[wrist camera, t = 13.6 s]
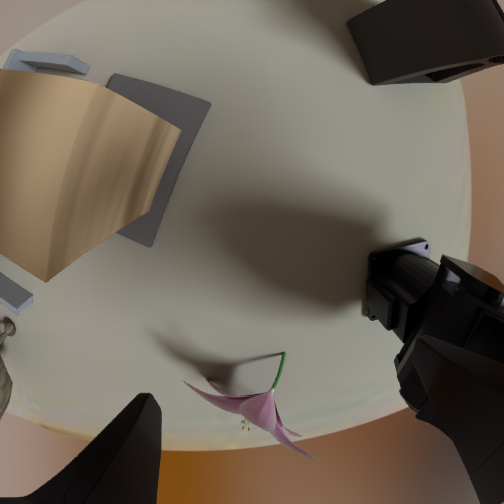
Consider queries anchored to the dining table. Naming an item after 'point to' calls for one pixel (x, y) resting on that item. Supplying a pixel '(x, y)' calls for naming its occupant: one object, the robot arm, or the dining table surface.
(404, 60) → the phone stand
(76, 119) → the oak block
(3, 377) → the tabletop clock
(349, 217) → the dining table surface
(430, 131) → the dining table surface
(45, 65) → the shelf
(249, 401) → the lily
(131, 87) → the rubber mat
